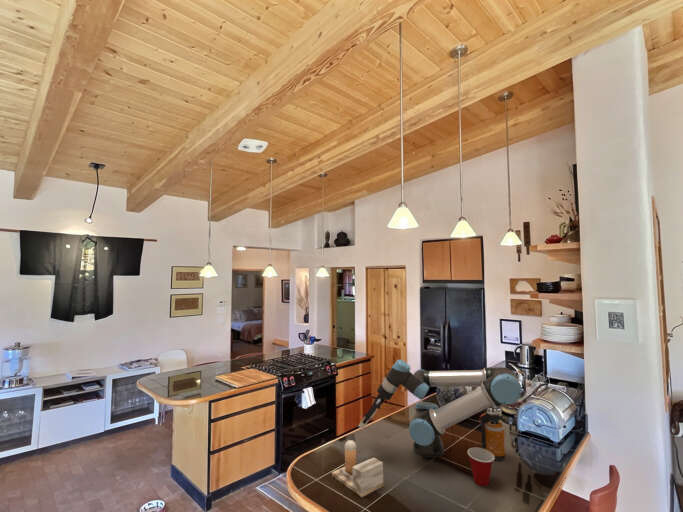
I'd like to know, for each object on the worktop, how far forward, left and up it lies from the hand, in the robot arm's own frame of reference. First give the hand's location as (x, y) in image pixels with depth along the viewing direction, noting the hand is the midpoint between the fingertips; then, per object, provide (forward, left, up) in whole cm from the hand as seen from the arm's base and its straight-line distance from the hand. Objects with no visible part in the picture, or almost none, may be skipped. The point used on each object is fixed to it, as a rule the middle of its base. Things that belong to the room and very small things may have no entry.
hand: (364, 422), depth 175 cm
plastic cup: (-54, +6, -15) cm, 56 cm away
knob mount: (-4, +23, -15) cm, 28 cm away
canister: (-59, -19, -15) cm, 63 cm away
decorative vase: (-37, -61, -15) cm, 73 cm away
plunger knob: (0, +21, -13) cm, 25 cm away
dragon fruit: (-57, -53, -15) cm, 79 cm away
